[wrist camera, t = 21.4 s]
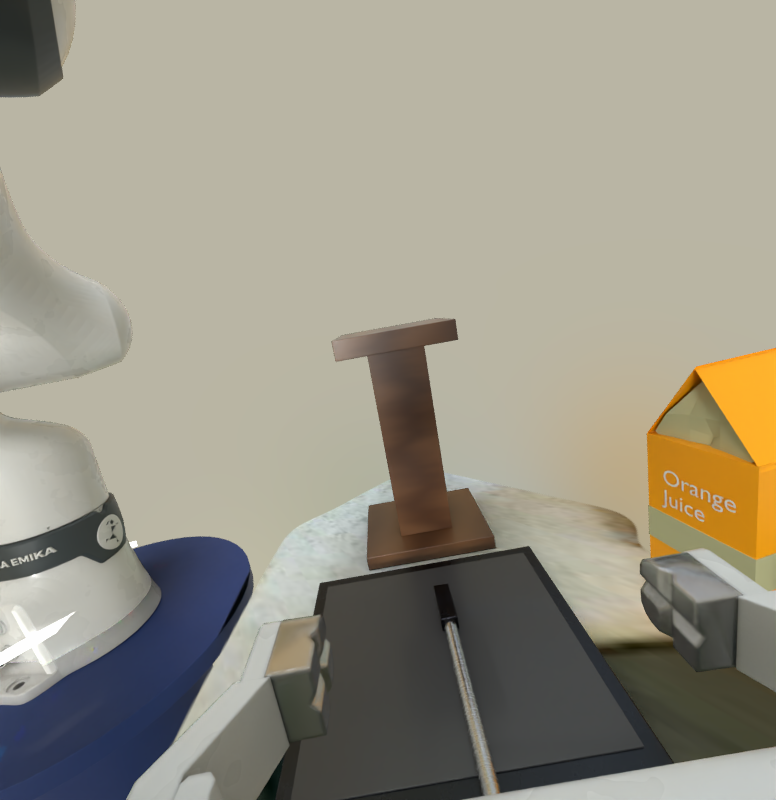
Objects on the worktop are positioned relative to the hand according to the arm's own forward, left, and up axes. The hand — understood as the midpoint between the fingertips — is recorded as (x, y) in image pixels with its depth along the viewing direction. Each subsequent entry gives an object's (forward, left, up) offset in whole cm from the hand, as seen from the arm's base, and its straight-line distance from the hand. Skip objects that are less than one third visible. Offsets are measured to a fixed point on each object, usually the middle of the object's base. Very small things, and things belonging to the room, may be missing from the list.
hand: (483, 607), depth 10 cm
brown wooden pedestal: (0, +35, -19) cm, 40 cm away
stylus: (0, +14, -18) cm, 23 cm away
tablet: (-1, +17, -19) cm, 26 cm away
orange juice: (+22, +16, -19) cm, 33 cm away
